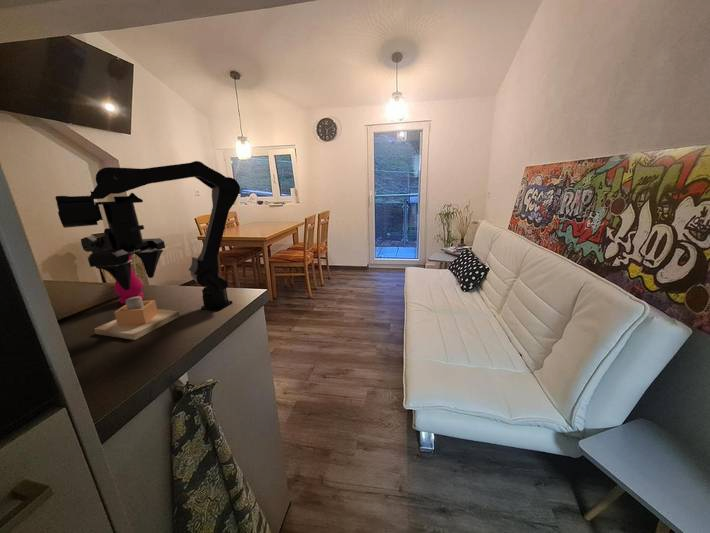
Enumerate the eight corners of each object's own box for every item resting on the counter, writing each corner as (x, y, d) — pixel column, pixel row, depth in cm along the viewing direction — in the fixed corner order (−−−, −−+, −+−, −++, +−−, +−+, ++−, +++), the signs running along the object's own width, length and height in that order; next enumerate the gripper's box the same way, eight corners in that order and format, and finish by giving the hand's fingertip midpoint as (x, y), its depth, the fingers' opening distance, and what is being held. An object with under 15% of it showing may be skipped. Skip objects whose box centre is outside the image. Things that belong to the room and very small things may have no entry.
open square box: (132, 315, 77) (129, 302, 76) (158, 313, 78) (154, 300, 77) (118, 326, 71) (114, 312, 70) (145, 323, 72) (142, 309, 71)
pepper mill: (117, 306, 87) (99, 244, 82) (119, 299, 93) (102, 240, 87) (145, 300, 91) (130, 241, 86) (145, 294, 97) (131, 238, 91)
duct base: (144, 312, 82) (138, 288, 80) (179, 316, 79) (174, 291, 77) (95, 333, 70) (87, 306, 68) (134, 339, 67) (126, 311, 65)
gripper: (117, 219, 75) (132, 274, 80) (50, 230, 58) (74, 299, 62) (159, 217, 76) (172, 271, 81) (106, 227, 58) (126, 296, 63)
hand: (139, 283), depth 71 cm, fingers open, 9 cm apart
